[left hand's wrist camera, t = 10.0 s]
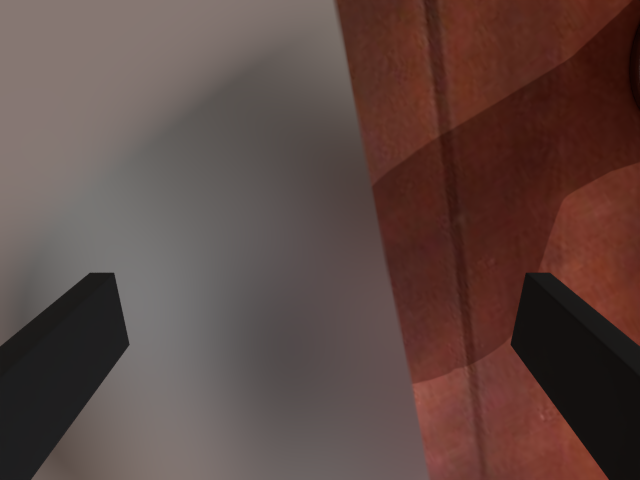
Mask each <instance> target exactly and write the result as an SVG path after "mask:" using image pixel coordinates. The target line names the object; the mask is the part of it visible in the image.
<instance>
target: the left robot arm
mask: <svg viewBox="0 0 640 480" xmlns="http://www.w3.org/2000/svg"><path fill="white" fill-rule="evenodd" d="M630 81H631V87H632V91H633V95H634V98H635V100H636V103H637V105H638V107H639V108H640V26H639V28H638V31H637V34H636V37H635V40H634V44H633V48H632V53H631V59H630ZM128 346H129V340H128V335H127V331H126V326H125V322H124V317H123V312H122V307H121V303H120V298H119V294H118V289H117V284H116V279H115V275H114V273H89V274H88V275H87V276H85V277H84V278H83V279H82V280H81V281H79V282H78V283H77V284H76V285H75V286H73V287H72V288H71V289H70V290H68V291H67V292H66V293H65V294H64V295H62V296H61V297H60V298H59V299H58V300H56V301H55V302H54V303H53V304H51V305H50V306H49V307H48V308H47V309H45V310H44V311H43V312H42V313H40V314H39V315H38V316H37V317H36V318H34V319H33V320H32V321H31V322H30V323H28V324H27V325H26V326H25V327H23V328H22V329H21V330H20V331H19V332H17V333H16V334H15V335H14V336H12V337H11V338H10V339H9V340H8V341H6V342H5V343H4V344H3V345H1V346H0V480H31V479H32V477H33V476H34V475H35V473H36V472H37V471H38V469H39V468H40V466H41V465H42V464H43V462H44V461H45V460H46V458H47V457H48V456H49V454H50V453H51V451H52V450H53V449H54V447H55V446H56V445H57V443H58V442H59V441H60V439H61V438H62V436H63V435H64V434H65V432H66V431H67V429H68V428H69V427H70V425H71V424H72V423H73V421H74V420H75V419H76V417H77V416H78V414H79V413H80V412H81V410H82V409H83V408H84V406H85V405H86V403H87V402H88V401H89V399H90V398H91V397H92V395H93V394H94V393H95V391H96V390H97V389H98V387H99V386H100V384H101V383H102V382H103V380H104V379H105V377H106V376H107V375H108V373H109V372H110V371H111V369H112V368H113V367H114V365H115V364H116V362H117V361H118V360H119V358H120V357H121V356H122V354H123V353H124V351H125V350H126V349H127V347H128ZM511 346H512V347H513V349H514V350H515V352H516V353H517V354H518V356H519V357H520V358H521V360H522V361H523V362H524V364H525V365H526V367H527V368H528V369H529V371H530V372H531V373H532V375H533V376H534V378H535V379H536V380H537V382H538V383H539V384H540V386H541V387H542V389H543V390H544V391H545V393H546V394H547V395H548V397H549V398H550V399H551V401H552V402H553V404H554V405H555V406H556V408H557V409H558V410H559V412H560V413H561V415H562V416H563V417H564V419H565V420H566V421H567V423H568V424H569V425H570V427H571V428H572V430H573V431H574V432H575V434H576V435H577V436H578V438H579V439H580V441H581V442H582V443H583V445H584V446H585V447H586V449H587V450H588V451H589V453H590V454H591V456H592V457H593V458H594V460H595V461H596V462H597V464H598V465H599V467H600V468H601V469H602V471H603V472H604V473H605V475H606V476H607V477H608V479H609V480H640V346H639V345H637V344H636V343H635V342H634V341H632V340H631V339H630V338H629V337H628V336H626V335H625V334H624V333H623V332H621V331H620V330H619V329H618V328H617V327H615V326H614V325H613V324H612V323H611V322H609V321H608V320H607V319H606V318H604V317H603V316H602V315H601V314H600V313H598V312H597V311H596V310H595V309H593V308H592V307H591V306H590V305H589V304H587V303H586V302H585V301H584V300H583V299H581V298H580V297H579V296H578V295H576V294H575V293H574V292H573V291H572V290H570V289H569V288H568V287H567V286H565V285H564V284H563V283H562V282H561V281H559V280H558V279H557V278H556V277H555V276H553V275H552V274H551V273H526V275H525V279H524V284H523V289H522V293H521V298H520V303H519V307H518V312H517V317H516V321H515V326H514V331H513V335H512V340H511Z"/></svg>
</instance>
